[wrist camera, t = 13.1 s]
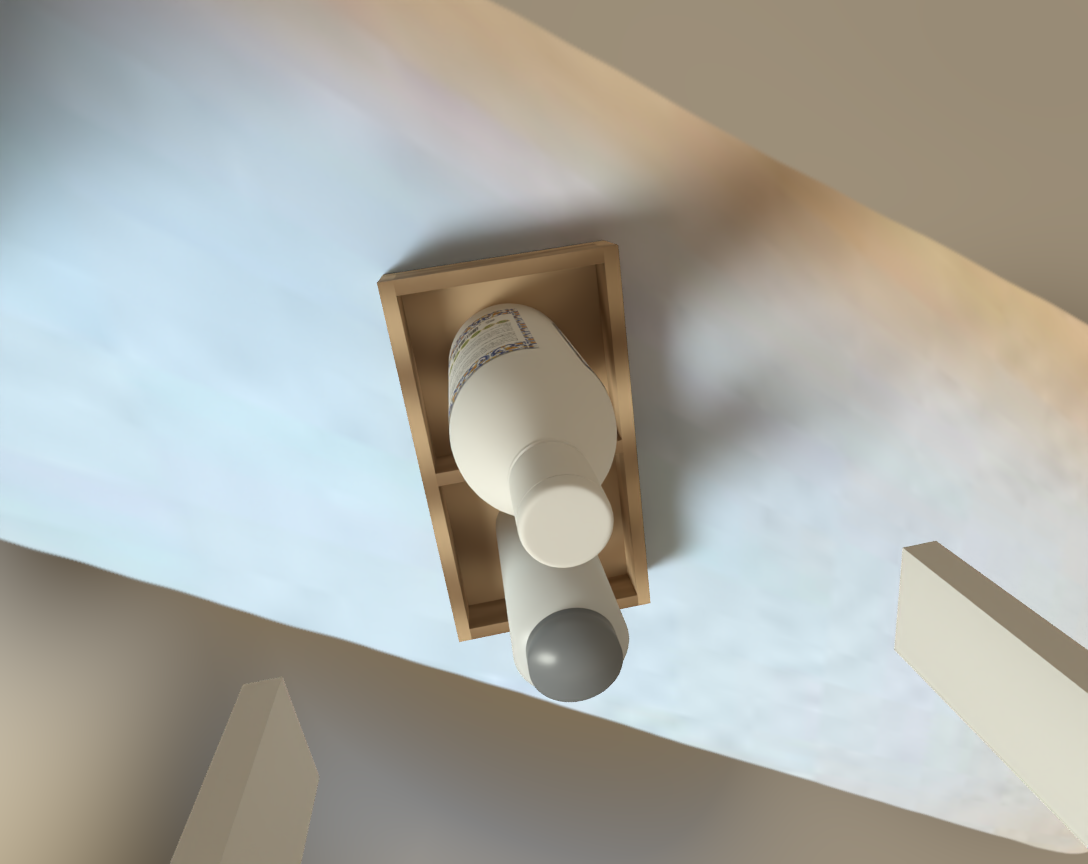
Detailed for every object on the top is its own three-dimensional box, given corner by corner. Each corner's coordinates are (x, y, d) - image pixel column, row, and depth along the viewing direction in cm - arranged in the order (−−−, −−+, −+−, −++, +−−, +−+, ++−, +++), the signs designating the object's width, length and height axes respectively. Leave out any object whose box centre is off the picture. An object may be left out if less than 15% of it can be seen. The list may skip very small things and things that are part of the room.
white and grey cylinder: (477, 522, 41) (489, 663, 29) (546, 468, 40) (589, 590, 28) (531, 577, 43) (564, 731, 31) (597, 527, 42) (658, 664, 30)
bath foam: (431, 395, 38) (416, 594, 19) (472, 282, 36) (499, 383, 17) (540, 431, 39) (622, 647, 21) (584, 326, 37) (719, 461, 19)
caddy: (383, 275, 36) (377, 282, 33) (603, 240, 37) (618, 245, 34) (458, 610, 44) (459, 641, 41) (636, 574, 45) (650, 602, 42)
